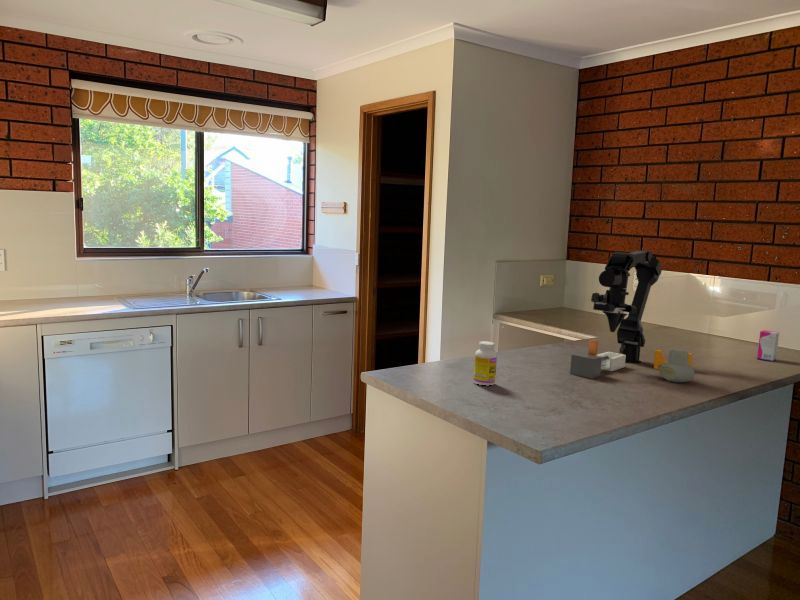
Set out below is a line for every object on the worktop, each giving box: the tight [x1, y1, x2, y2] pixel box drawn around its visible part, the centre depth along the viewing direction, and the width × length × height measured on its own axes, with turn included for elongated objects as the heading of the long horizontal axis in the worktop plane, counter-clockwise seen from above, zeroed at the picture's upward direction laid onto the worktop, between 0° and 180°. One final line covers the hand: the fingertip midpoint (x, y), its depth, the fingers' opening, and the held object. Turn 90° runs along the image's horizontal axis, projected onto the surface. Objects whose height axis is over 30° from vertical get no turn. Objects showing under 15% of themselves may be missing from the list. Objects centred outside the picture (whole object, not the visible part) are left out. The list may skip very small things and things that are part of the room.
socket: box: [569, 352, 602, 380], centre depth 211 cm, size 6×8×7 cm
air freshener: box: [658, 349, 696, 384], centre depth 209 cm, size 11×8×10 cm
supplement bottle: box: [473, 340, 498, 387], centre depth 193 cm, size 7×7×13 cm
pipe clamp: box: [653, 349, 693, 370], centre depth 226 cm, size 12×4×6 cm, turn 76°
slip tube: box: [587, 338, 610, 367], centre depth 215 cm, size 16×4×10 cm, turn 137°
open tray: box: [597, 351, 626, 372], centre depth 224 cm, size 10×7×4 cm, turn 137°
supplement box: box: [756, 330, 780, 363], centre depth 251 cm, size 6×6×12 cm
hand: (612, 331), depth 222 cm, fingers closed
